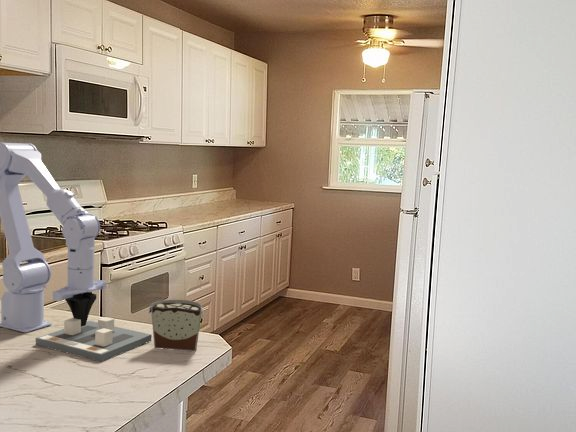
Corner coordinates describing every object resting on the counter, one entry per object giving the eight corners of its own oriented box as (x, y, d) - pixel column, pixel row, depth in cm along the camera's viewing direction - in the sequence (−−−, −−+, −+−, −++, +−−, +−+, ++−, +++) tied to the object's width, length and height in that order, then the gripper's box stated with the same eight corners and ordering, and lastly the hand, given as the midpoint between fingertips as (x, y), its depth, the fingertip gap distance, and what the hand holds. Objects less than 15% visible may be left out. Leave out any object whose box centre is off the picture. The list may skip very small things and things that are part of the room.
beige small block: (64, 333, 134) (64, 320, 133) (72, 330, 136) (72, 317, 136) (72, 335, 133) (72, 322, 132) (80, 332, 135) (80, 319, 135)
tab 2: (98, 332, 136) (98, 319, 135) (105, 329, 138) (105, 317, 138) (106, 334, 135) (106, 321, 134) (114, 331, 137) (114, 318, 137)
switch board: (35, 344, 130) (35, 337, 130) (89, 326, 145) (89, 320, 144) (101, 361, 122) (101, 354, 122) (151, 340, 136) (151, 334, 136)
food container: (208, 343, 137) (210, 301, 136) (202, 352, 131) (203, 307, 130) (156, 339, 138) (157, 297, 137) (147, 347, 132) (148, 304, 131)
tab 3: (95, 344, 127) (95, 331, 127) (103, 341, 130) (103, 328, 129) (104, 346, 126) (104, 333, 126) (112, 343, 129) (112, 330, 128)
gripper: (69, 274, 127) (69, 336, 128) (116, 264, 140) (115, 320, 141) (45, 270, 130) (45, 330, 131) (94, 260, 143) (93, 315, 144)
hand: (80, 325), depth 136 cm, fingers closed
